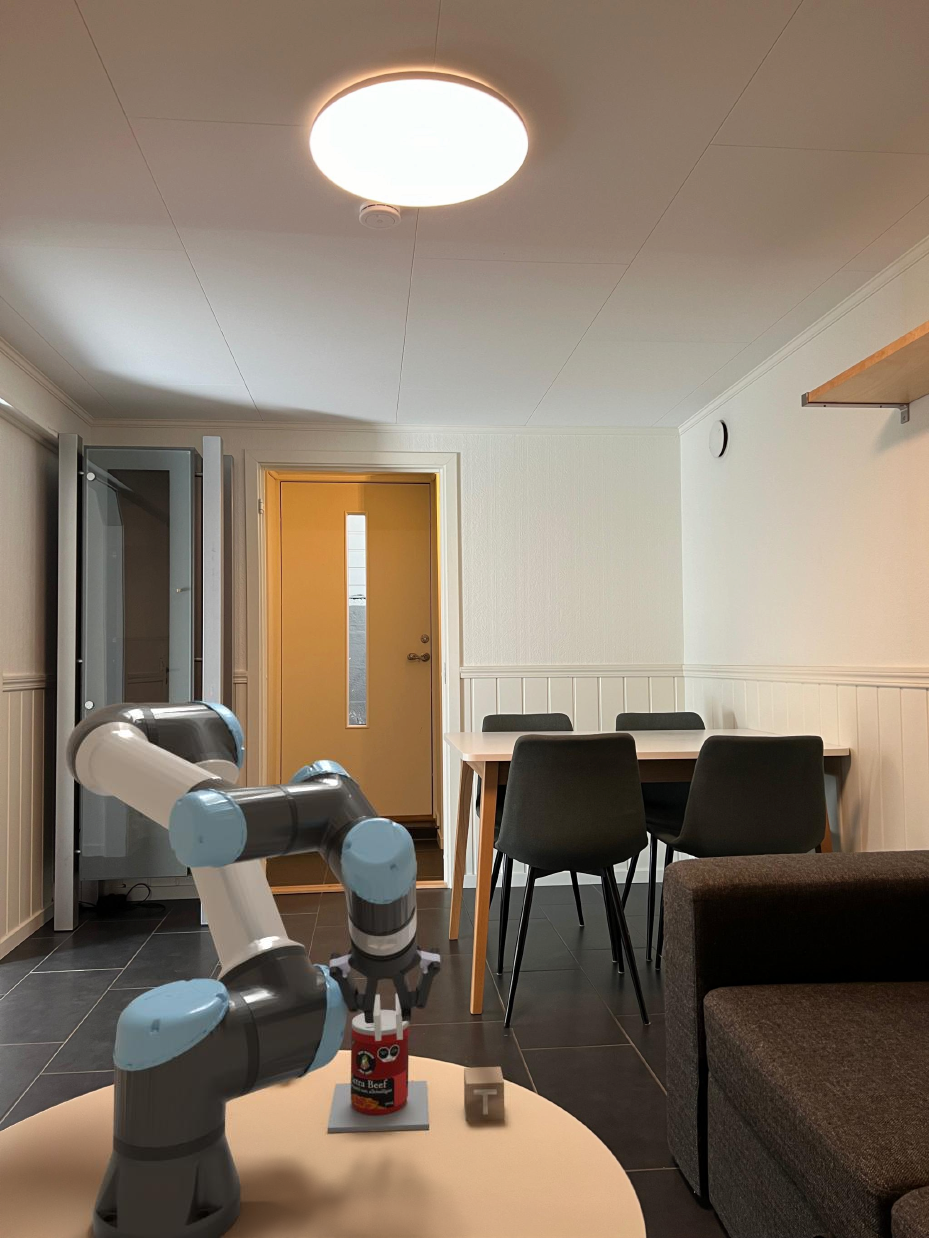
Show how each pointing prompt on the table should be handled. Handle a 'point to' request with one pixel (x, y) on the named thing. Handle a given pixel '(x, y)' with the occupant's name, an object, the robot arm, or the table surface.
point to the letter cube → (483, 1094)
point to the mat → (403, 1119)
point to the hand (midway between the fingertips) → (389, 1029)
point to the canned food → (379, 1065)
